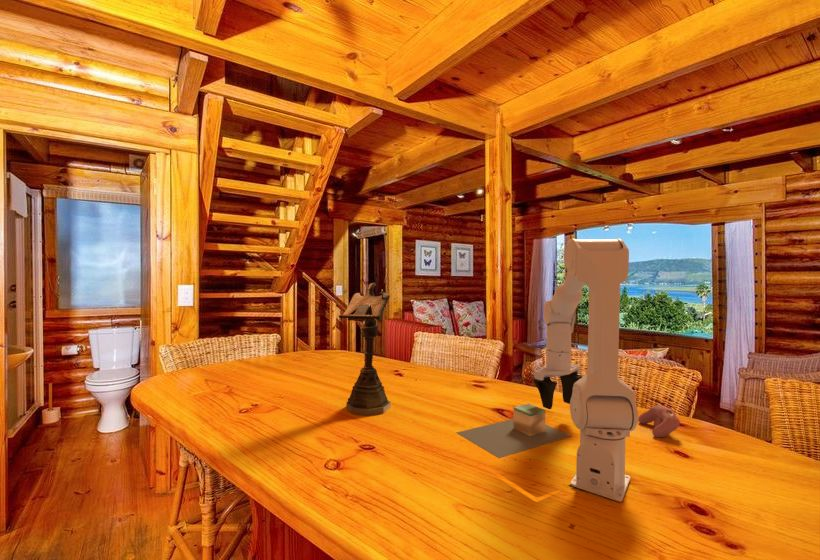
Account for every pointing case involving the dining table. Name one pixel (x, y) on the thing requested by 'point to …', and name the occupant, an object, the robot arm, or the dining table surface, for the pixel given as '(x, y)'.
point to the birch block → (529, 419)
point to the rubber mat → (509, 438)
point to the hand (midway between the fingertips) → (557, 405)
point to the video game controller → (660, 420)
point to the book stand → (367, 354)
